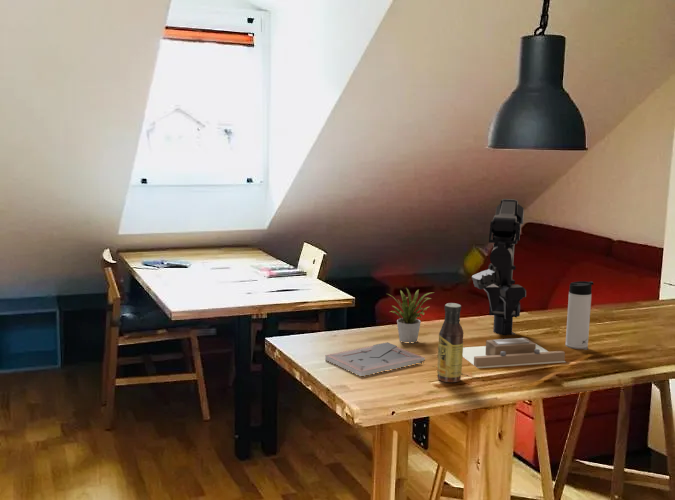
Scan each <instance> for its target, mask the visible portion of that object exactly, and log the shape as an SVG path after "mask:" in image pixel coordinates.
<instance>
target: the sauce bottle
mask: <svg viewBox="0 0 675 500" xmlns="http://www.w3.org/2000/svg"><path fill="white" fill-rule="evenodd" d="M461 311H462V305H461V304H459V303H455V302H448V303H446V304H444V320H443V323H442V326H441V328H440V331H439V333H438V344H437V364H436V365H437V367H436V374H437V376H436V377H437V379H438V380H439V381H441V382H443V383H458V382H460V381H461V379H462V376H461V375H462V372H463V371H462V370H463V358H464V357H463V348H464V330H463V326H462V325H461V323H460V322H461V319H460V317H461Z"/></svg>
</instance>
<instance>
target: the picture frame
mask: <svg viewBox="0 0 675 500" xmlns="http://www.w3.org/2000/svg"><path fill="white" fill-rule="evenodd" d="M324 359H325V361H326V360H327V361H326V362H328V361H329V362H328V363H330V362H331V363H330V364H332V363H333V364H332V365H334V364H336V365H338V366H340V367H342V368H344V369H343V370H345V369H346V370H345V371H347V370H349V371H351V372H353V373H355V374H357V375H359V376H364V377H366V376H365V375H369V376H371V375H370V374H373V373H377V372H381V371H385V370H390V369H396V368H400V367H404V366H408V365H412V364H416V363H422V362H423V361H425V359H426V357H424V356H422V355H419V354H416V353H414V352H412V351H409V350H407V349H404V348H402V347H399V346H397V345H395V344H392V343H390V342H382V343H377V344H373V345H370V346H365V347H364V346H363V347H360V348H355V349H350V350H344V351H339V352H334V353H329V354H325V358H324ZM336 365H335V366H336ZM338 366H337V367H338ZM340 367H339V368H340ZM342 368H341V369H342ZM400 369H401V368H400ZM396 370H397V369H396ZM349 371H348V372H349ZM351 372H350V373H351ZM353 373H352V374H353ZM355 374H354V375H355ZM357 375H356V376H357ZM373 375H374V374H373ZM359 376H358V377H359Z"/></svg>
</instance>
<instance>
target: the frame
mask: <svg viewBox="0 0 675 500" xmlns="http://www.w3.org/2000/svg"><path fill="white" fill-rule="evenodd" d="M536 344H537V343H536V342H533V341H532V340H530V339H528V338H526V337H519V338H504V339H503V338H501V339H500V338H499V339H486V340H485V346H486V354H485V355H487V356H490V355H500V353H501V351H505V352H506V354H520V353H534V350H535V349H536Z"/></svg>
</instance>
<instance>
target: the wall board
mask: <svg viewBox="0 0 675 500" xmlns="http://www.w3.org/2000/svg"><path fill="white" fill-rule="evenodd" d="M535 344H536V349H535V350H534V353H520V354H506V352H505V351H501V353H500V355H490V356H487V355H485V354H486V345H482V346H480V345H479V346H468V347H467V346H466V347H464V346H463V357H462V358H464V359H465V360H466V361H467V362H469V363H470V364H471V365H473V366H474V367H475V368H477V369H483V368H484V369H485V368H486V369H487V368H501V367H516V366H528V365H529V366H531V365H543V364H545V365H546V364H557V363H559V364H560V363H567V361H565V355H566V352H565V351H564V350H555V351H554V350H552V351H548V350H547V349H546V348H544V347H542V346H541V345H538V344H537V343H535Z"/></svg>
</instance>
